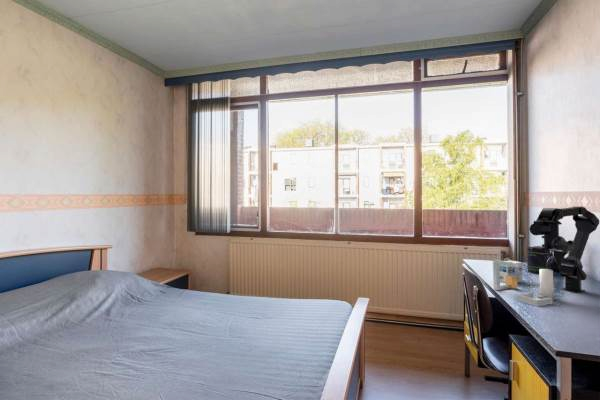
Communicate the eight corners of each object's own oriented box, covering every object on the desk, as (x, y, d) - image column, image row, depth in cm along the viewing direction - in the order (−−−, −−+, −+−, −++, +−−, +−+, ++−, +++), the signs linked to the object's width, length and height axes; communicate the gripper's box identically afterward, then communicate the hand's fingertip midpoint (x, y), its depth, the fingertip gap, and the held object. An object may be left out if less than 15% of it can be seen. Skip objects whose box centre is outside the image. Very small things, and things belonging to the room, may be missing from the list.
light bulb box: (508, 283, 172) (507, 263, 172) (497, 280, 179) (496, 261, 179) (523, 281, 175) (522, 262, 175) (512, 279, 182) (511, 260, 182)
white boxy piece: (510, 286, 167) (510, 257, 167) (535, 293, 154) (534, 262, 154) (491, 288, 163) (491, 259, 163) (515, 296, 151) (514, 264, 151)
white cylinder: (544, 295, 151) (544, 267, 151) (559, 299, 145) (558, 270, 145) (534, 296, 150) (533, 269, 150) (548, 301, 143) (548, 272, 143)
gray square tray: (531, 297, 149) (531, 292, 149) (552, 303, 140) (552, 298, 140) (516, 299, 146) (516, 294, 146) (536, 306, 137) (536, 300, 137)
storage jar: (523, 271, 198) (522, 247, 198) (534, 269, 201) (534, 246, 201) (539, 275, 189) (539, 249, 189) (551, 273, 192) (550, 248, 191)
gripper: (554, 237, 143) (555, 272, 143) (584, 234, 148) (584, 268, 148) (530, 234, 154) (531, 267, 154) (558, 232, 159) (559, 263, 159)
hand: (552, 266), depth 153 cm, fingers open, 9 cm apart
